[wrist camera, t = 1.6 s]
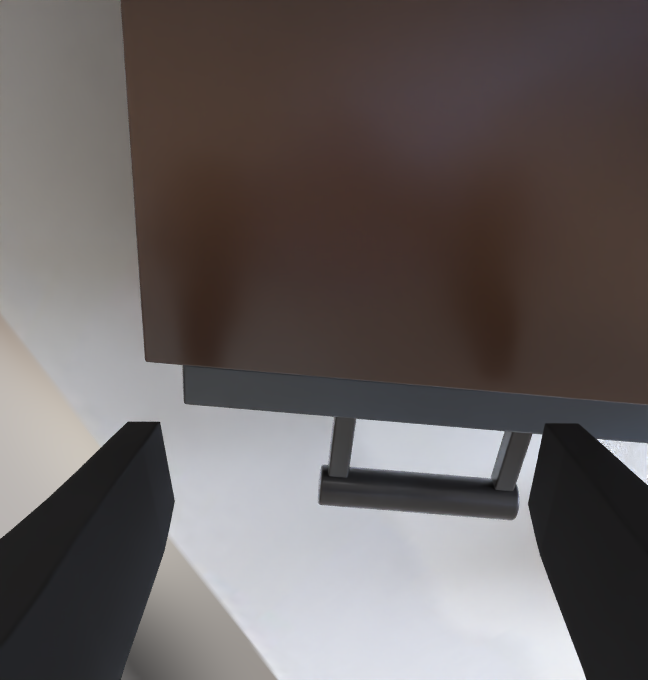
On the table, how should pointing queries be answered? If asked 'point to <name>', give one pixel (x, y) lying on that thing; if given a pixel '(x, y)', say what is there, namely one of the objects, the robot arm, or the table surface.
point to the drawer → (420, 408)
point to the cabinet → (395, 190)
